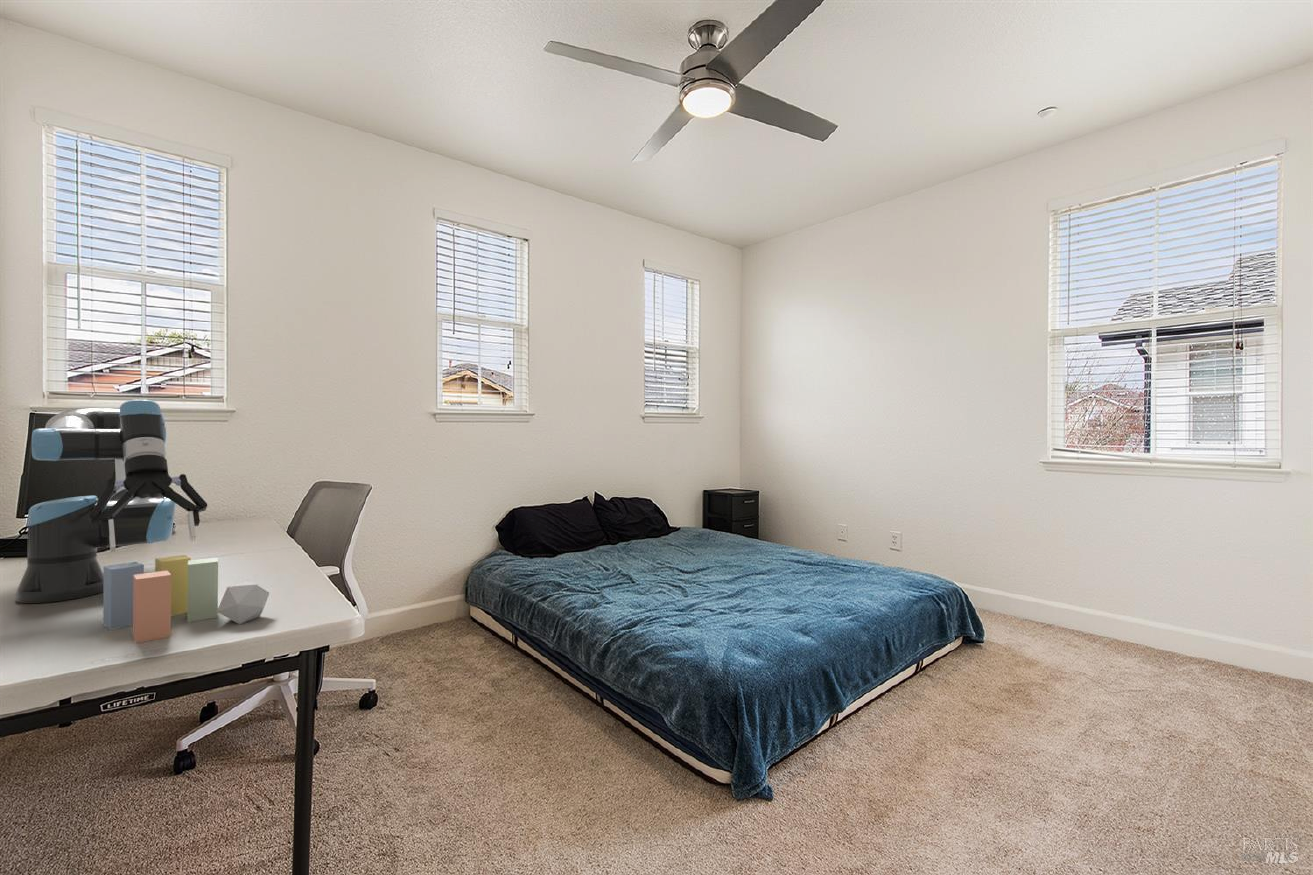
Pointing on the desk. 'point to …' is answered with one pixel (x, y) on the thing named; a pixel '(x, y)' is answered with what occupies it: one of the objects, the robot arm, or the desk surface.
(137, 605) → the terracotta pillar
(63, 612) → the desk surface
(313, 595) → the desk surface
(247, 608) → the die
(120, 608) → the slate pillar
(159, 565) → the mustard pillar
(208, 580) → the sage pillar
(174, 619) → the desk surface
